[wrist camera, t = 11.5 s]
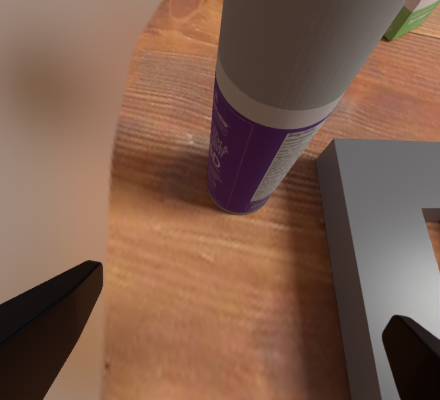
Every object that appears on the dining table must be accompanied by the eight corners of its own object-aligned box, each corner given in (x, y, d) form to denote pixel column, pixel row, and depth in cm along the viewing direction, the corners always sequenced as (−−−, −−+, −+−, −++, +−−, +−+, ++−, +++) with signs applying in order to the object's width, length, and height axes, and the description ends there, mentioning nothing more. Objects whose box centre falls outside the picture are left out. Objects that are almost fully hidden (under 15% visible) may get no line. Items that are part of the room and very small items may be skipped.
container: (193, 179, 19) (181, -145, 5) (241, 145, 20) (337, -188, 6) (235, 228, 18) (367, -5, 4) (283, 189, 19) (507, -90, 5)
